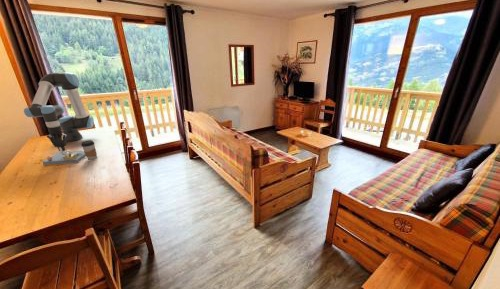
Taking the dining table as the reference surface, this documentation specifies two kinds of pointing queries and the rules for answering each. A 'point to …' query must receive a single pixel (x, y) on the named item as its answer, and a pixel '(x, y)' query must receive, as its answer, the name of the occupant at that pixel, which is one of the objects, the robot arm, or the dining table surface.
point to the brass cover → (70, 157)
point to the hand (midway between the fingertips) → (63, 154)
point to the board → (60, 160)
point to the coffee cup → (89, 150)
